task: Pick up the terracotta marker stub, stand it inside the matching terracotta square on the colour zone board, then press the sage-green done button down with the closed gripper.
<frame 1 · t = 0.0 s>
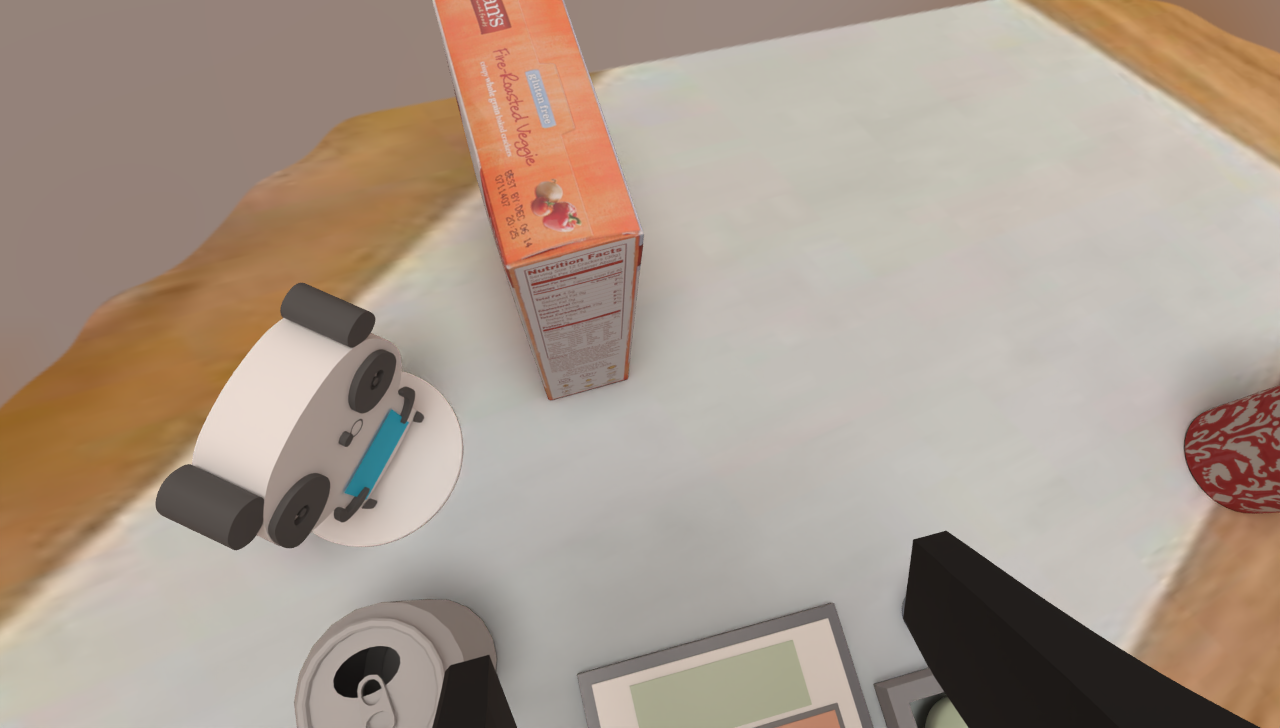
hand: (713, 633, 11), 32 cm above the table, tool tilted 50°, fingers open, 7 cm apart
mug: (1244, 443, 48), on the table
panda figurine: (370, 460, 44), on the table
cracker box: (560, 302, 48), on the table
can: (435, 665, 41), on the table
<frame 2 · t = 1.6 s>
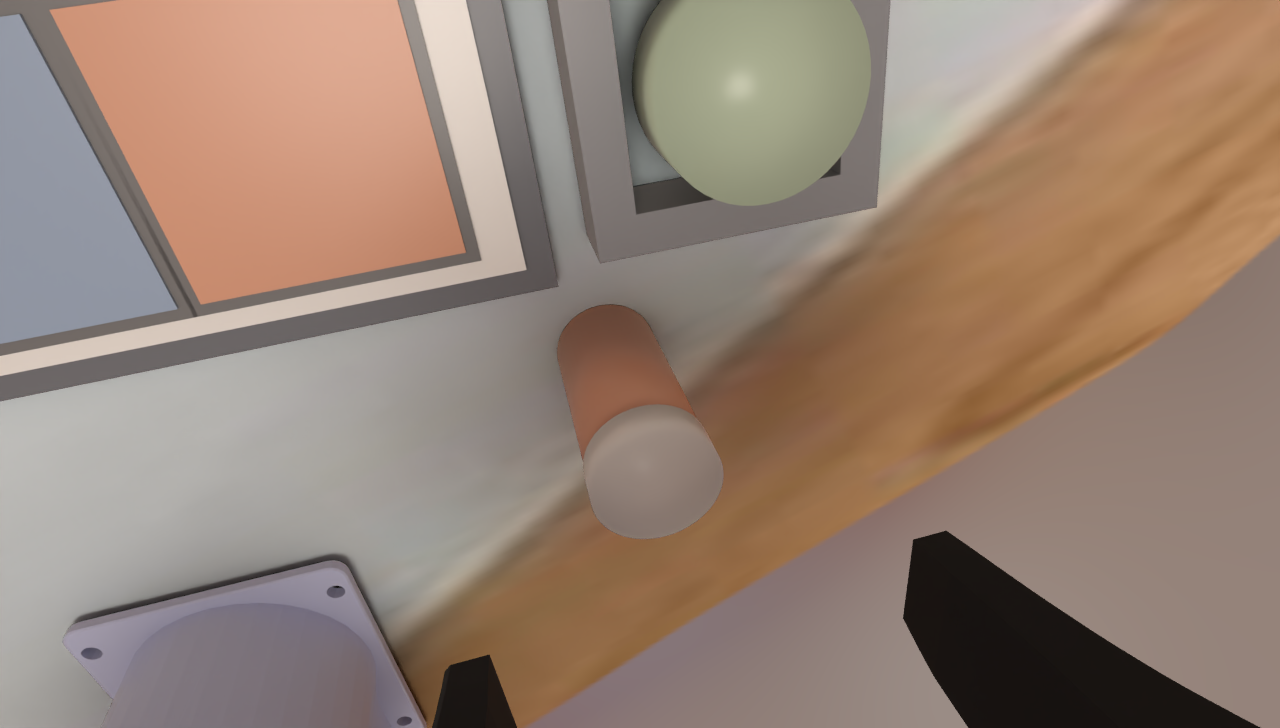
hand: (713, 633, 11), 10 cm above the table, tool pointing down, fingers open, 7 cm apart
button collar: (707, 67, 16), on the table
done button: (747, 85, 14), point 3 cm above the table, slide at 0.0 cm
colour zone board: (101, 62, 14), on the table
terracotta marker: (606, 349, 20), on the table
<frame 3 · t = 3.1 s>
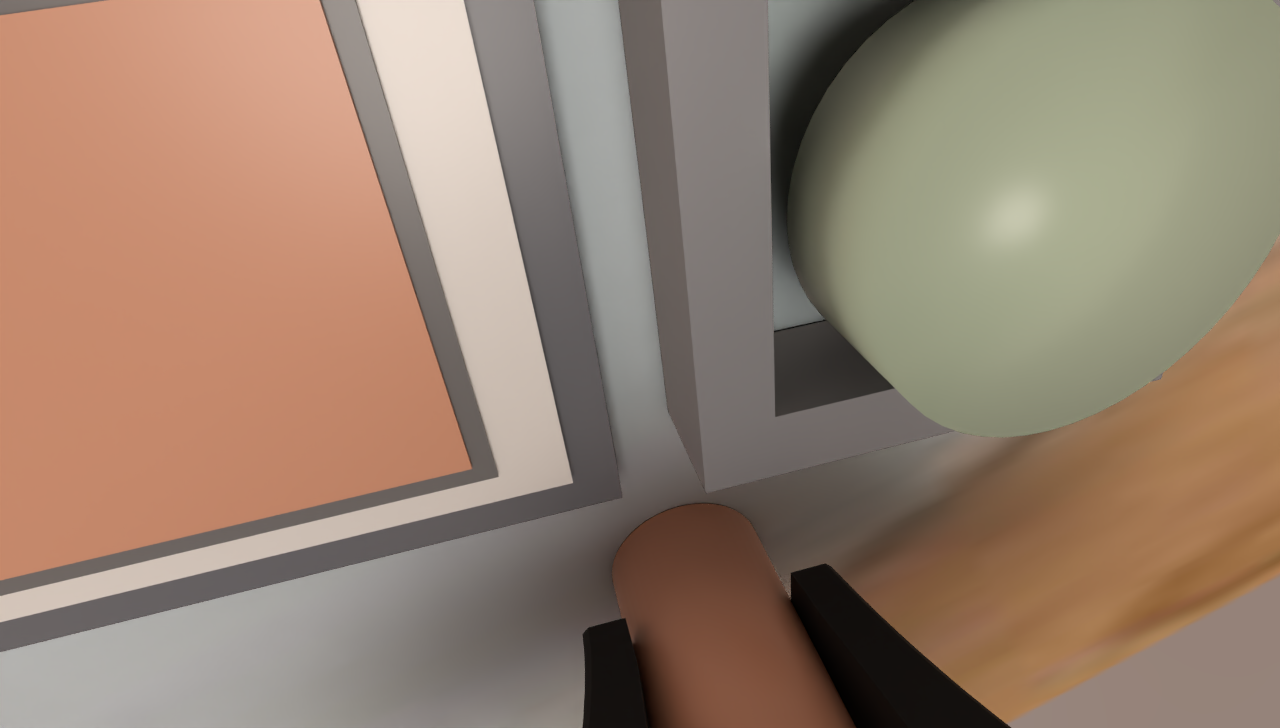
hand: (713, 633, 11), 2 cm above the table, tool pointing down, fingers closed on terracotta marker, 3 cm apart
button collar: (887, 149, 10), on the table
done button: (1021, 211, 7), point 3 cm above the table, slide at 0.0 cm
terracotta marker: (686, 561, 13), on the table, touching gripper
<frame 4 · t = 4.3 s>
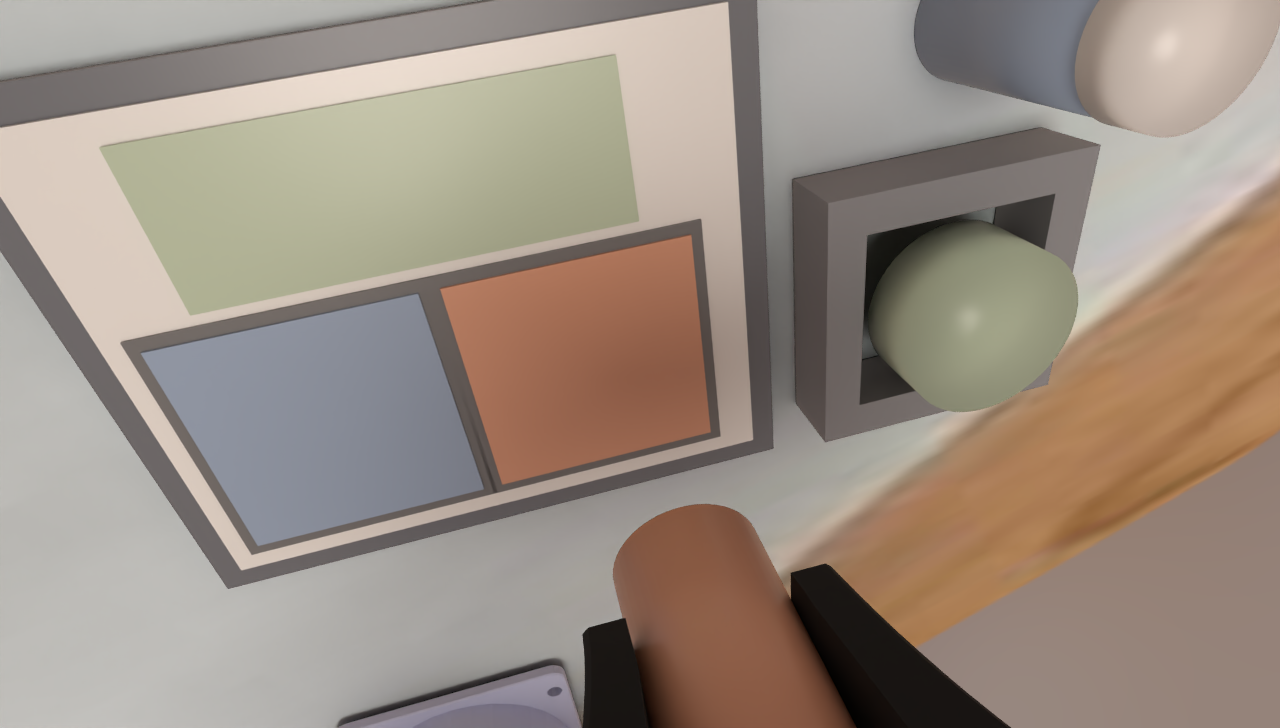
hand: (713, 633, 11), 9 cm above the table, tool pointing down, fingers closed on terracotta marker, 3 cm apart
button collar: (909, 275, 20), on the table
done button: (968, 317, 17), point 3 cm above the table, slide at 0.0 cm
colour zone board: (452, 309, 17), on the table
terracotta marker: (686, 562, 13), point 7 cm above the table, touching gripper
slate blue marker: (968, 18, 16), on the table
when the fingers open (3 cm above the table, at t = 5.8 s): terracotta marker stays where it is, resting on colour zone board.
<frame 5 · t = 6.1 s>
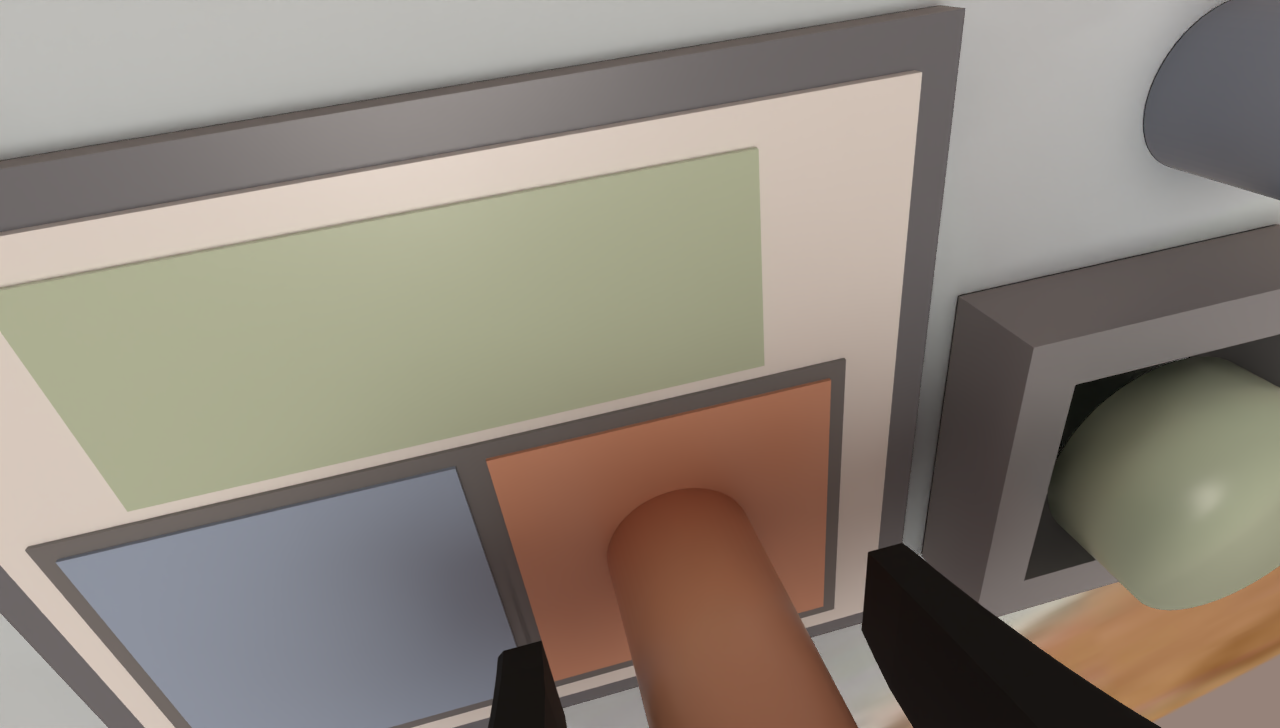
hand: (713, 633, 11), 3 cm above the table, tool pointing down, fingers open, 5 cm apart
button collar: (1083, 405, 15), on the table
done button: (1193, 485, 13), point 3 cm above the table, slide at 0.0 cm
colour zone board: (497, 471, 13), on the table
terracotta marker: (679, 545, 13), point 1 cm above the table, touching colour zone board
slate blue marker: (1218, 86, 12), on the table
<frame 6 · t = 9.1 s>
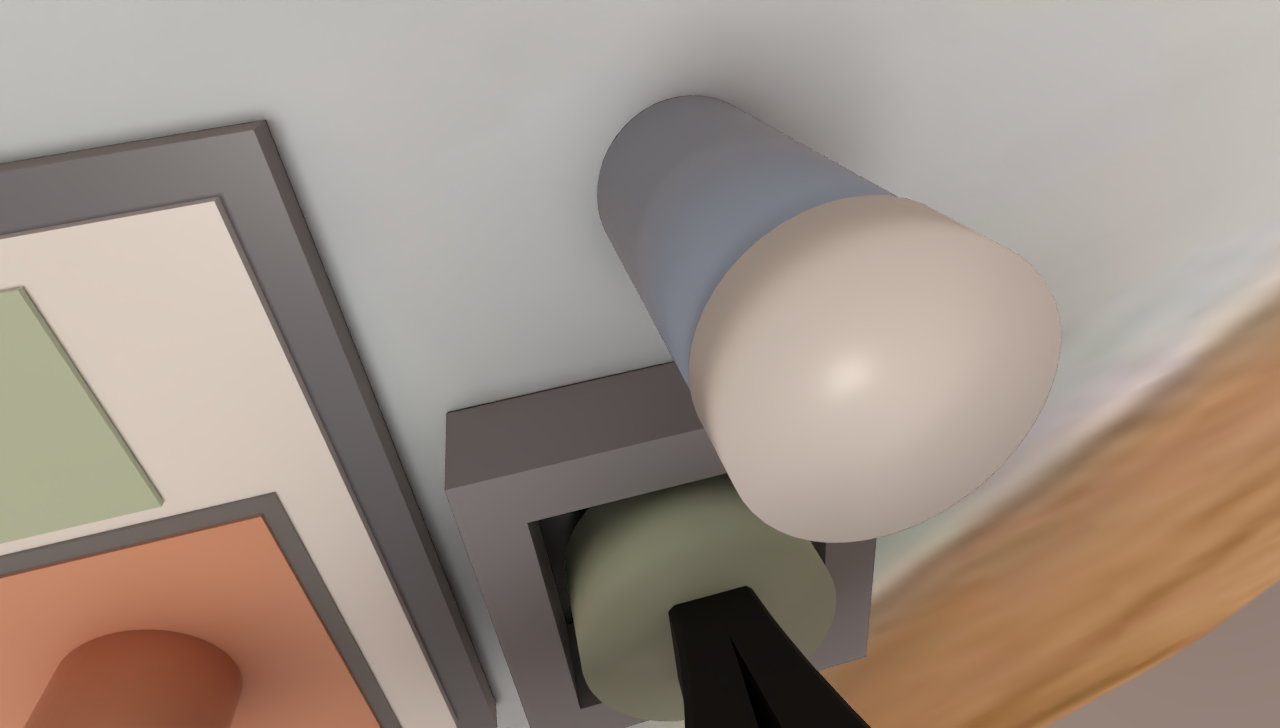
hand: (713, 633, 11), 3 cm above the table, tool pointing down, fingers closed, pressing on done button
button collar: (666, 513, 14), on the table
done button: (695, 590, 12), point 2 cm above the table, slide at 0.7 cm, touching gripper
terracotta marker: (151, 685, 12), point 1 cm above the table, touching colour zone board
slate blue marker: (686, 191, 11), on the table
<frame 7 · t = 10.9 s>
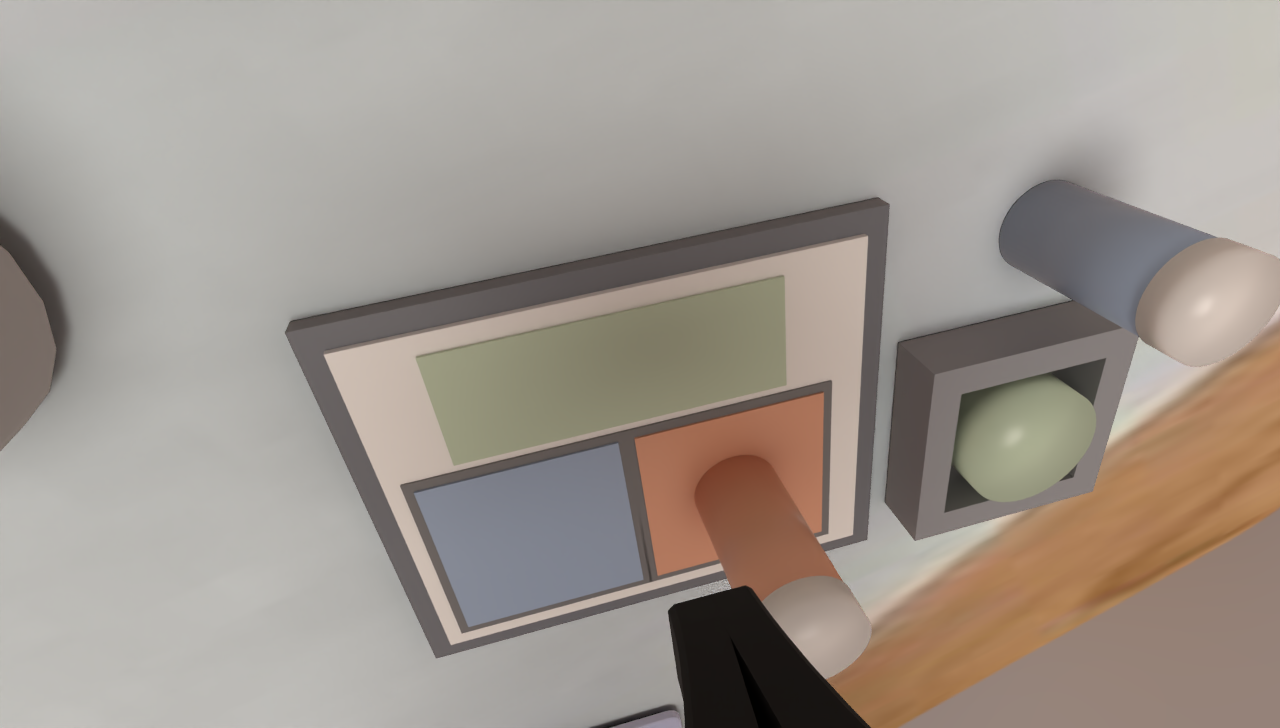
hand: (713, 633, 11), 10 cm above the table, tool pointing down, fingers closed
button collar: (982, 405, 24), on the table
done button: (1012, 431, 23), point 2 cm above the table, slide at 1.1 cm
colour zone board: (632, 446, 22), on the table
terracotta marker: (735, 489, 22), point 1 cm above the table, touching colour zone board
slate blue marker: (1041, 225, 21), on the table
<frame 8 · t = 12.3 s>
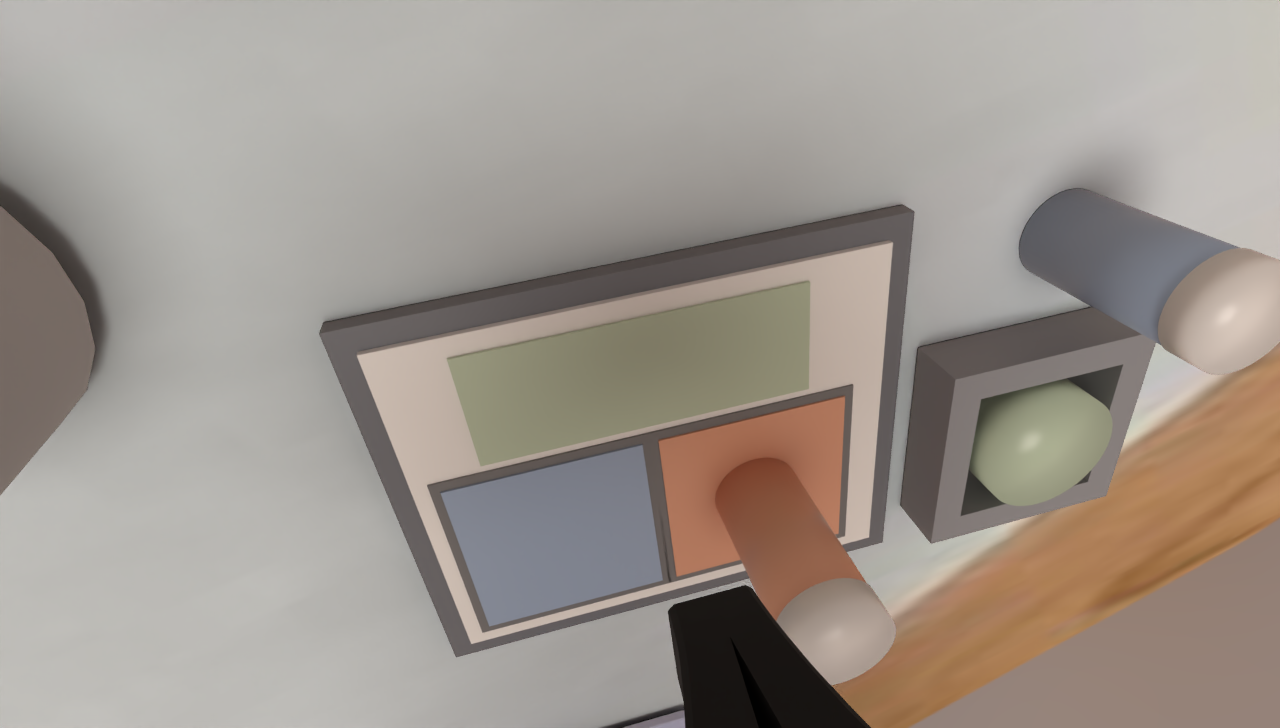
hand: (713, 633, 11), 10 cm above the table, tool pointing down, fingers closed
button collar: (998, 410, 25), on the table
done button: (1029, 436, 23), point 2 cm above the table, slide at 1.1 cm
colour zone board: (654, 448, 22), on the table
terracotta marker: (756, 491, 23), point 1 cm above the table, touching colour zone board
slate blue marker: (1060, 233, 21), on the table
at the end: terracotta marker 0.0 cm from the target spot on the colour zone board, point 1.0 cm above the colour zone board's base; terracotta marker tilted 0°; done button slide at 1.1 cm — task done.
